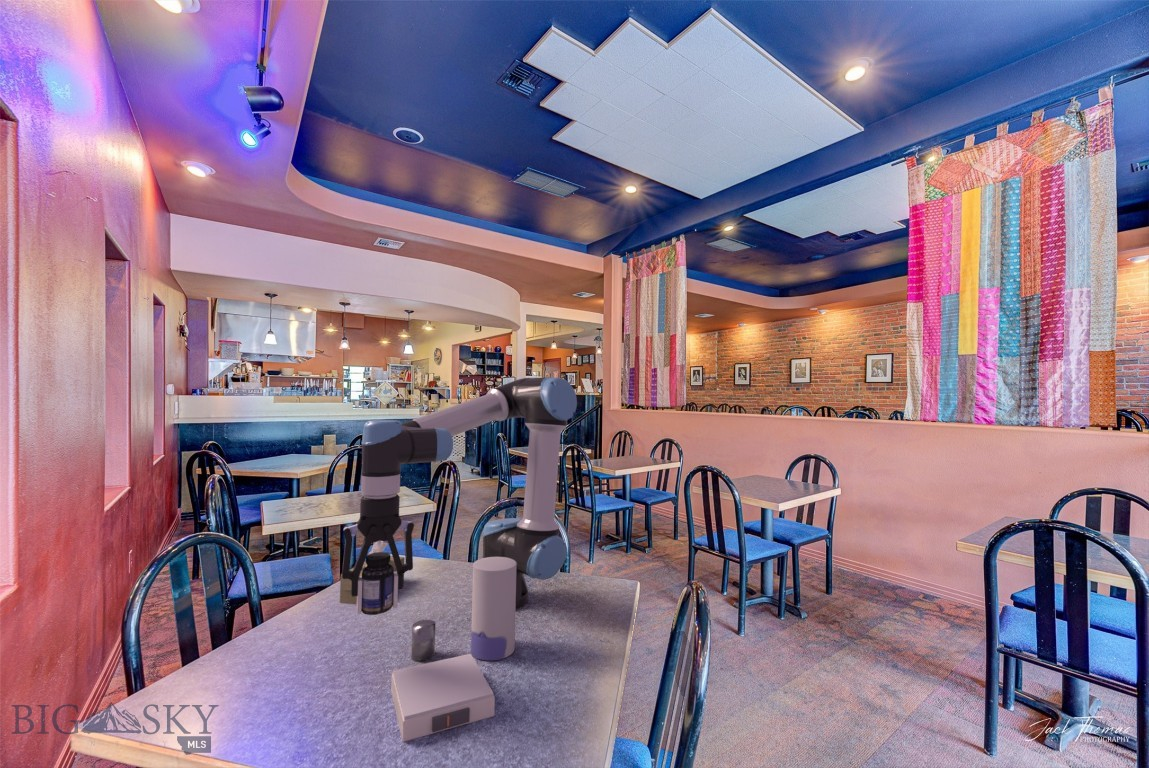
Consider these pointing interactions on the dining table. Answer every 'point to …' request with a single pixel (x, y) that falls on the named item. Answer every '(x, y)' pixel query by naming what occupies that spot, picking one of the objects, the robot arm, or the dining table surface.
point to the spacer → (423, 640)
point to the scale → (440, 696)
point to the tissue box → (346, 583)
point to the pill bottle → (377, 584)
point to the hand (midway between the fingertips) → (377, 608)
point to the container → (493, 608)
